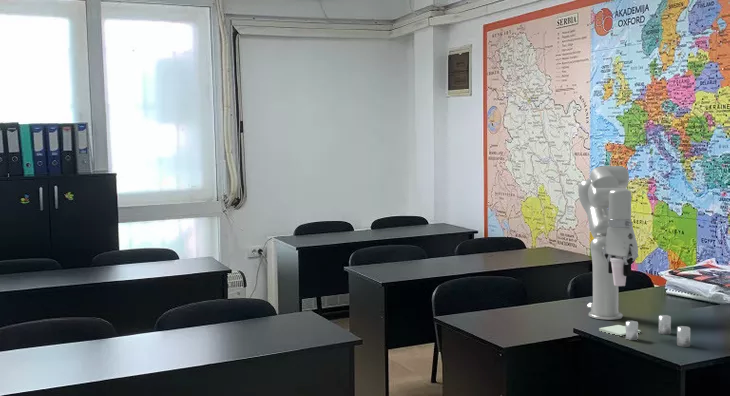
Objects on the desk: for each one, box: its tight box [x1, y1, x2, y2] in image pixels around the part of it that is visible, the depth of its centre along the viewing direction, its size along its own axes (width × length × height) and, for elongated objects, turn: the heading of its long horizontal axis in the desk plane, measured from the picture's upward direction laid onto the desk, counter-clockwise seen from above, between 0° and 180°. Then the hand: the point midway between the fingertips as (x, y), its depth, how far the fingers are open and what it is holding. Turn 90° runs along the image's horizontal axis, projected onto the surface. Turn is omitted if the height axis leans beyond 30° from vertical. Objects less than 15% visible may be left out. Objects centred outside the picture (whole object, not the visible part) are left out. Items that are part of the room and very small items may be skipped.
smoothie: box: [610, 256, 628, 287], centre depth 254 cm, size 6×6×14 cm
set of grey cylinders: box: [625, 314, 691, 348], centre depth 242 cm, size 18×20×6 cm
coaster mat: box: [598, 324, 642, 336], centre depth 255 cm, size 10×10×1 cm
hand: (619, 273), depth 254 cm, fingers closed on smoothie, 6 cm apart
